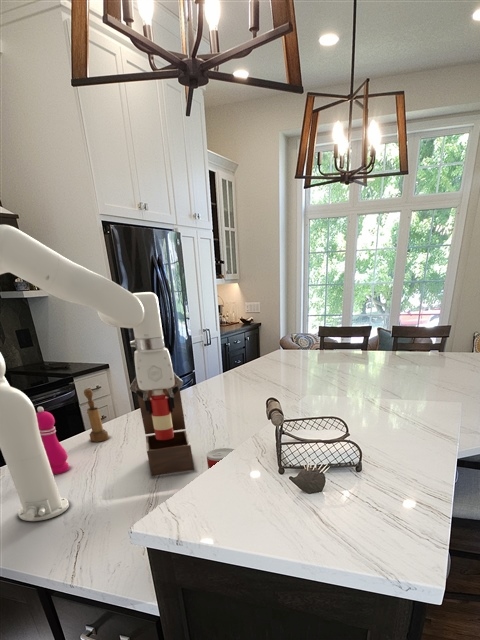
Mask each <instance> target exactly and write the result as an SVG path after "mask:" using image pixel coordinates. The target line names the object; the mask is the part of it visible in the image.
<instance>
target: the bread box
mask: <svg viewBox="0 0 480 640" xmlns="http://www.w3.org/2000/svg"><path fill="white" fill-rule="evenodd" d="M173 433H174V437H173V438H172V439H169V440H157V439H156V436H155V433H153V434H146V435H145V446H146V454H147V459H148V464H149V469H150V475H151V477H153V476H160V475H168V474H175V473H181V472H188V471H194V470H195V466H194V465H195V464H194V459H193V453H192V445H191V442H190V439H189V436H188V433H187V430H186V429H183V430H176V431H173Z"/></svg>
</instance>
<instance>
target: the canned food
mask: <svg viewBox="0 0 480 640" xmlns="http://www.w3.org/2000/svg"><path fill="white" fill-rule="evenodd" d="M233 450H235V449H234V448H229V447H221V448H215V449H212V450H209V451H208V452H207V453H206V462H207V470H208V469H209V468H211V467H212V466H213V465H215V464H216V463H217V462H219V461H220V460H222V459H223V458H224V457H226V456H227V455H228V454H229V453H230V452H232V451H233Z"/></svg>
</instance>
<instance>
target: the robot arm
mask: <svg viewBox="0 0 480 640" xmlns="http://www.w3.org/2000/svg"><path fill="white" fill-rule="evenodd" d="M7 273H10V274H12V275H14V276H16V277H18V278H20V279H21V280H23V281H26V282H28V283H29V284H32V285H33V286H35V287H37V288H39V289H40V290H42V291H44V292H45V293H48V294H49V295H51V296H53V297H55V298H57V299H60V300H61V301H62V300H63V301H65V302H68V303H72V304H77V305H80V306H84V307H86V308H90V309H92V310H95V311H96V313H97V316H98V318H99V319H100V320H101V322H103V323H104V324H105V325H107V326H109V327H114V328H123V329H124V328H125V329H133V336H134V340H131V341H129V344H130V347H131V348H135V349H136V350H135V351H134V353H133V354H134V355H133V357H134V366H135V367H134V368H135V377H134V379H133V381H132V383H131V384H130V386H129V390H130V391H131V392H133V393H134V394H136V395H137V396H138V395H139V396H140V397H141V398H142V399H143V400H144V401H145V407H146V411H149V414H152V412H151V406H150V400H149V398H148V391H149V390H155V389H165V388H166V389H167V391H168V393H169V394H168V395H169V397H168V399H169V406H170V412H173V409H172V408H175V406H174V399H173V397H174V395H175V394H176V393H177V391H178V390H179V388H180V389H181V388H182V386H183V385H184V381H183V380H182V379H181V378H180V377H179V376H178V375H176V373H175V372H174V369H173V363H172V359H171V354H170V352H169V349H168V348H167V347H166V346H165V339H164V331H163V327H162V319H161V313H160V312H161V311H160V305H159V298H158V296H157V294H156V293H154V292H151V291H145V292H144V291H143V292H133V293H132V292H131V291H129V290H127V289H126V288H124V287H122V285H120V284H118V283H116V282H115V281H113V280H111V279H109V278H107V277H105V276H103V275H101V274H100V273H99V274H98V273H96V272H94V271H92V270H90V269H88V268H86V267H84V266H82V265H80V264H78V263H76V262H74V261H72V260H70V259H68V258H66V257H65V256H63V255H61V254H60V253H58V252H57V251H54V249H52V248H50V247H48V246H47V245H46V244H43V243H42V242H40V241H38V240H37V239H35V238H33V237H31V236H30V235H28V234H27V233H25V232H23V231H22V230H20V229H18V228H16V227H15V226H12V225H9V224H0V275H4V274H7ZM5 374H6V362H5V358H4V356H3V354H2V352H1V351H0V451H1V454H2V456H3V459H4V462H5V464H6V467H7V470H8V472H9V475H10V477H11V480H12V483H13V485H14V489H15V491H16V493H17V497H18V499H19V501H20V504H21V507H19V508H18V510H17V515H18V518H19V519H21V520H23V521H26V522H40V521H44V520H48V519H49V520H50V519H53V518H55V517H57V516H59V515H61V514H63V513H65V512H66V511H67V510H68V508H69V506H70V503H69V500H68V499H67V498H65V497H62V496H61V494H60V492H59V489H58V486H57V482H56V480H55V477H54V474H53V473H52V470H51V467H50V464H49V460H48V457H47V454H46V451H45V448H44V445H43V440H42V437H41V435H40V431H39V427H38V421H37V416H36V413H37V412H36V409H35V406H34V404H33V402H32V401H31V399H30V398H29V397H28V395H26V393H24V391H21V389H18V388H16V387H13V386H11V385H10V383H9V381H8V380H7V378H6V377H5ZM177 376H178V377H177ZM174 380H175V381H176V382H177V384H176V385H175V386H174V384H175V381H174ZM137 384H138V386H139V388H140V389H141V390H144V391H143V392H142V391H141V390H139V389H137V388H136V385H137ZM173 386H174V388H173V389H171V387H173Z"/></svg>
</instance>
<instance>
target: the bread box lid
mask: <svg viewBox="0 0 480 640" xmlns="http://www.w3.org/2000/svg"><path fill="white" fill-rule="evenodd" d="M176 376H177V377H179V376H178V375H176ZM174 381H175V380H174ZM176 384H177V382H176V381H175V384H174V386H175V385H176ZM174 386H173V387H171V389H173V388H174ZM136 388H137V389H139V390H141V389H140V388H139V386H138V384H137V385H136ZM141 391H142V392H143V391H144V390H141ZM163 393H164V394H165V396H167V397H169V395H168V394H169V393H168V391H167V389H166V388H165V389H163ZM152 394H153V393H152V390H149V391H148V398H149V399H150V398H152ZM181 395H182V394H181V387H180V388H179V390H178V391H177V393H176V394H175V395H174V397H173V399H174V406H175V408H172V409H173V412H170V413H171V418H172V425H173V432H176V431H184V430H186V422H185V416H184V409H183V402H182V396H181ZM137 400H138V405H139V411H140V414H141V415H140V416H141V421H142V424H143V425H142V426H143V430H144V434H145V435H154V434H155V430H154V425H153V419H152V414H149V411H146V407H145V401H144V400H143V399H142V398H141V397H140V396H139V395H137Z"/></svg>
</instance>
